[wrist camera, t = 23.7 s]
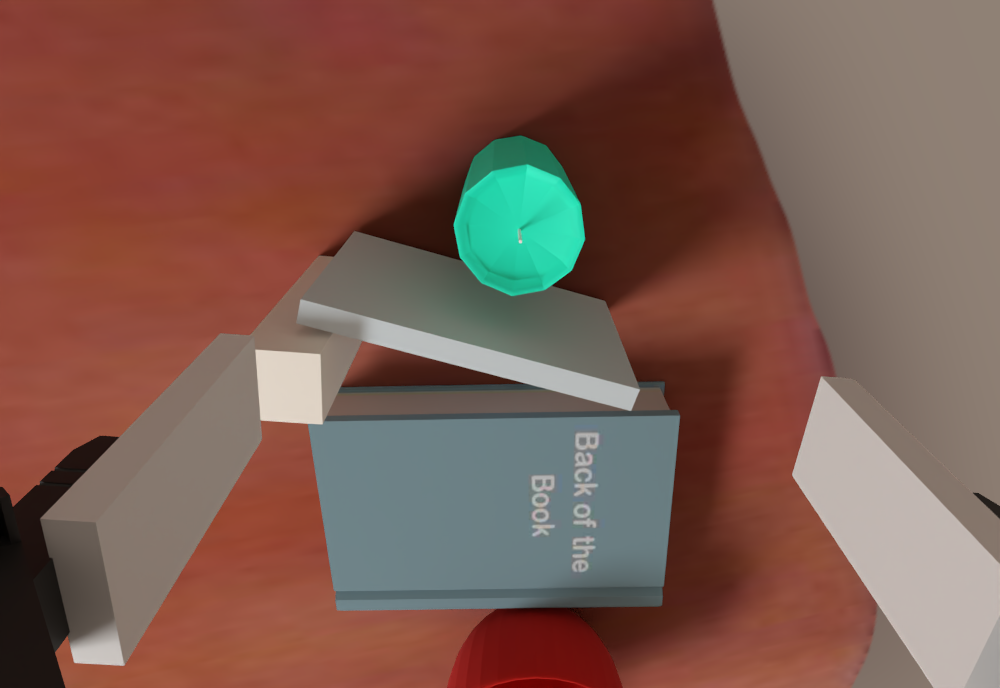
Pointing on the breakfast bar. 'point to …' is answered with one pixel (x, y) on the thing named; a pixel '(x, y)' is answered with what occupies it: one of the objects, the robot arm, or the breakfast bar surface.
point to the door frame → (299, 359)
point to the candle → (518, 217)
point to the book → (495, 497)
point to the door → (470, 320)
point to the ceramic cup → (533, 652)
